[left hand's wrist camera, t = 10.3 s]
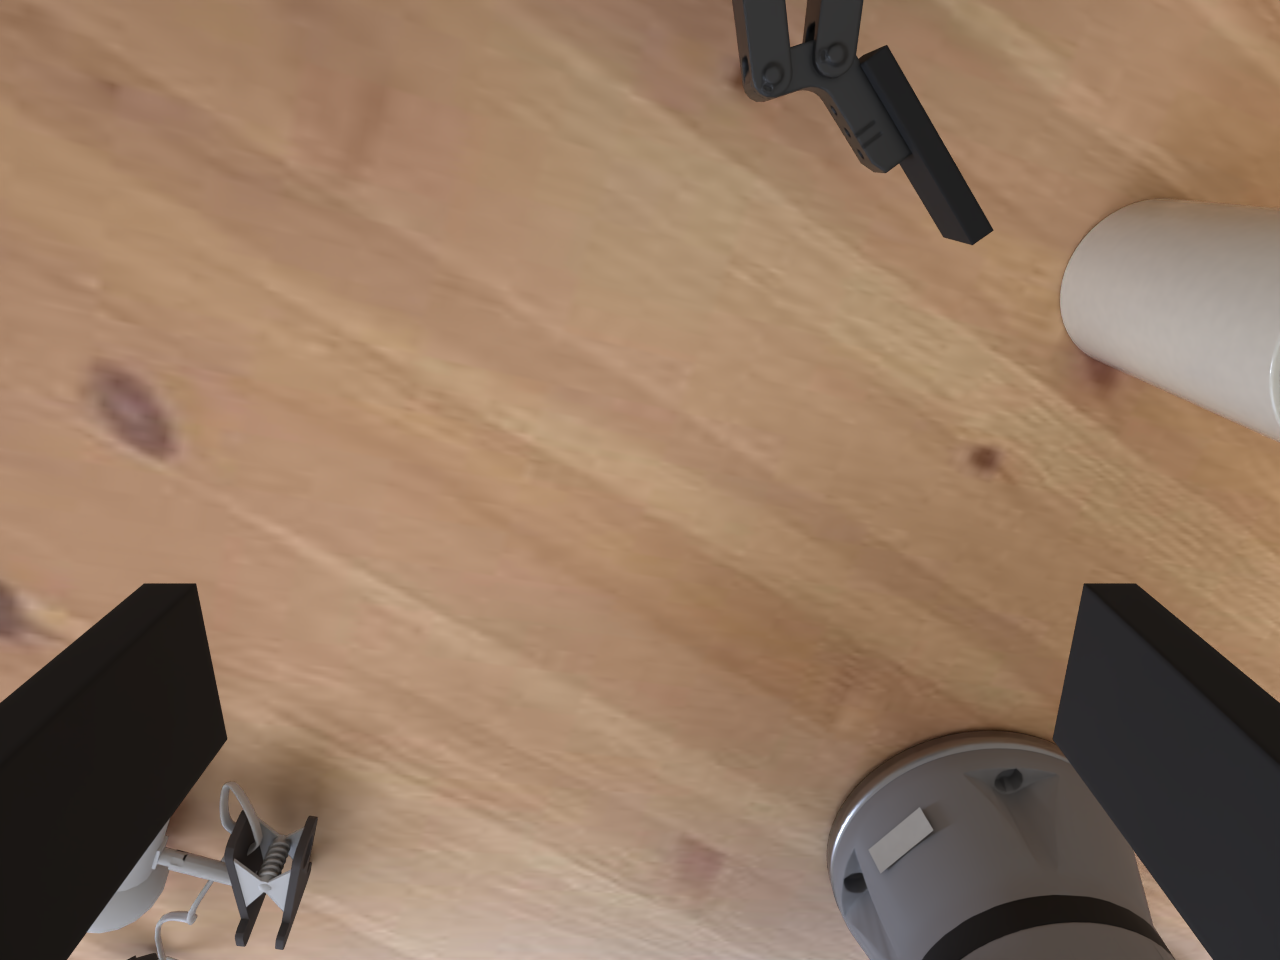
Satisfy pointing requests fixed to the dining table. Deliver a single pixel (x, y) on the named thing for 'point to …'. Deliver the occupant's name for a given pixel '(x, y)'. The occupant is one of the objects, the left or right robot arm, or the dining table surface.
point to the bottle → (1185, 303)
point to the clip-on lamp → (220, 875)
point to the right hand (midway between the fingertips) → (1160, 99)
